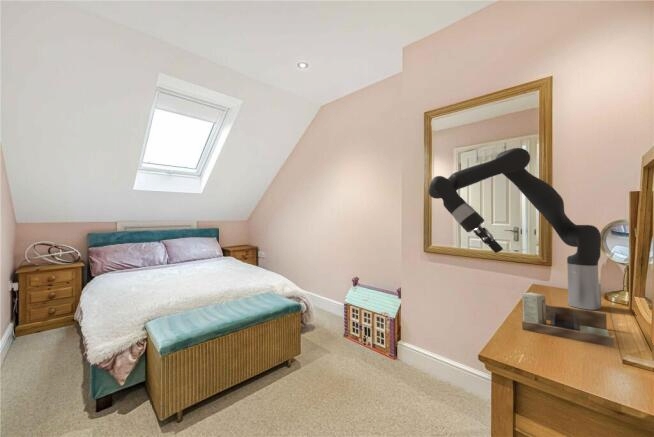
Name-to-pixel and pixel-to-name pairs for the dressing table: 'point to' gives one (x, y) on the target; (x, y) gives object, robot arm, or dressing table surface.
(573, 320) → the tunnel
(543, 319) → the skincare box
